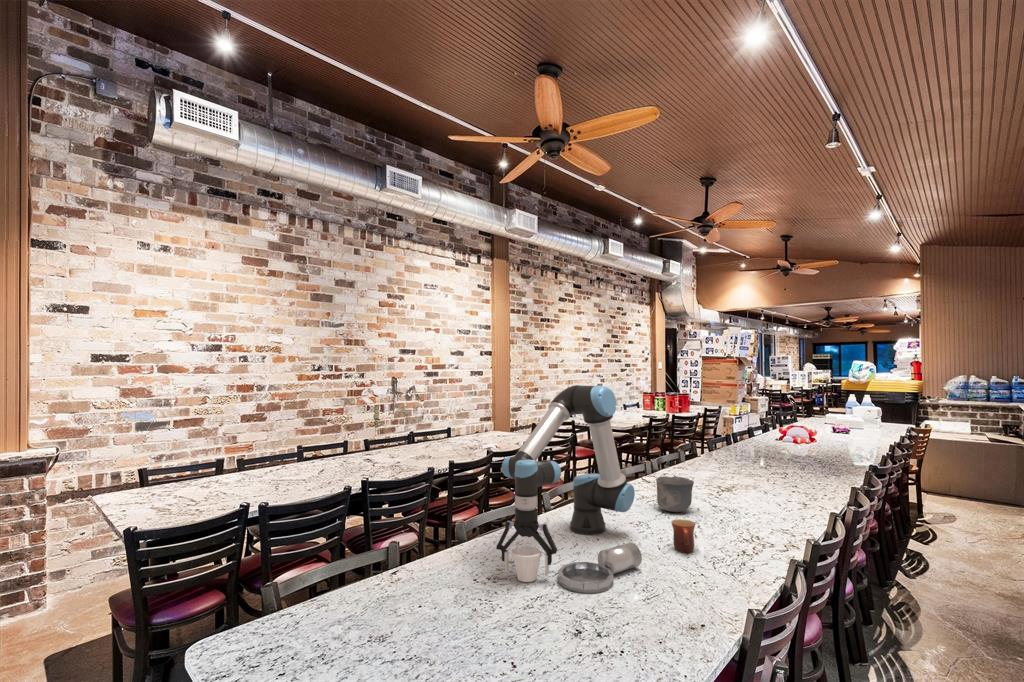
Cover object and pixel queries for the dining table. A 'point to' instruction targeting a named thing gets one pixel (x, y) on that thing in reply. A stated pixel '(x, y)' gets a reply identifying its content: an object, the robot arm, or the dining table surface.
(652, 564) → the dining table surface
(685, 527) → the mug
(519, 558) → the cup
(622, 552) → the grey saucepan
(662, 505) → the bowl
